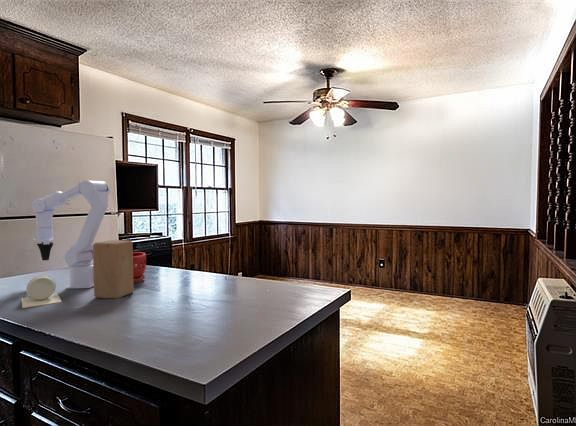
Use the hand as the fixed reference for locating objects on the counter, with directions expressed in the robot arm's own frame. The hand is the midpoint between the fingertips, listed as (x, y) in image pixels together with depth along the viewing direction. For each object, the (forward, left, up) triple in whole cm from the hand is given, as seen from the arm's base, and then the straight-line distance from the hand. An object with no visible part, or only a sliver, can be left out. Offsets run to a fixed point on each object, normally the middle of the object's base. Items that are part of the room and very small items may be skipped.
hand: (45, 260), depth 153 cm
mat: (-13, +25, -10) cm, 30 cm away
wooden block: (-36, +19, -11) cm, 42 cm away
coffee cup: (-7, +17, -6) cm, 19 cm away
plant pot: (-33, -4, -11) cm, 35 cm away
